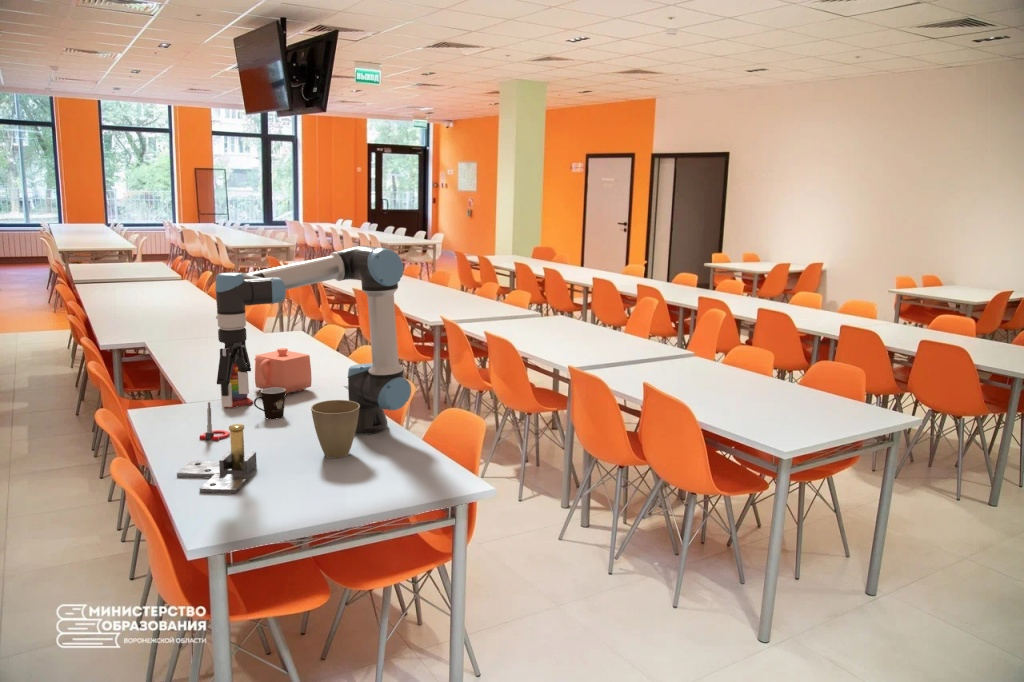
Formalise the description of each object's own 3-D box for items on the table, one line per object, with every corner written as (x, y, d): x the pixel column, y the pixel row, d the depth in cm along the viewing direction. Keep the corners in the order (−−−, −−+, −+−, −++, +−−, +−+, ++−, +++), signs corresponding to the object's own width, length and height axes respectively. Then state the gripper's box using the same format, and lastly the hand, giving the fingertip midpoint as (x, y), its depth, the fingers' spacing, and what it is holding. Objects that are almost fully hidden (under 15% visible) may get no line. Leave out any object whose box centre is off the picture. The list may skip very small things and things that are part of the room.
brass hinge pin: (248, 469, 225) (246, 424, 222) (243, 474, 221) (241, 428, 218) (234, 469, 225) (231, 424, 222) (228, 474, 221) (226, 428, 218)
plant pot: (304, 452, 241) (303, 404, 238) (347, 444, 250) (347, 397, 247) (324, 466, 230) (322, 415, 227) (368, 457, 239) (368, 408, 235)
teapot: (235, 390, 312) (233, 348, 309) (278, 379, 331) (276, 339, 328) (277, 400, 299) (275, 356, 296) (319, 388, 318) (318, 347, 315)
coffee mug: (284, 412, 283) (283, 386, 281) (288, 418, 276) (287, 392, 274) (251, 415, 278) (250, 389, 276) (254, 422, 271) (253, 395, 269)
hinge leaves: (261, 466, 228) (260, 450, 227) (236, 493, 207) (235, 476, 206) (191, 464, 228) (190, 448, 227) (159, 491, 207) (158, 474, 206)
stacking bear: (226, 409, 285) (224, 363, 282) (217, 403, 293) (215, 358, 290) (255, 404, 292) (253, 360, 289) (245, 399, 300) (243, 355, 296)
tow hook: (211, 432, 260) (196, 439, 251) (211, 395, 258) (195, 401, 249) (234, 434, 258) (220, 441, 249) (234, 397, 257) (219, 403, 247)
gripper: (234, 319, 227) (238, 388, 231) (201, 335, 202) (205, 411, 207) (259, 320, 227) (262, 388, 231) (229, 336, 203) (233, 412, 207)
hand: (235, 399), depth 219 cm, fingers open, 13 cm apart
